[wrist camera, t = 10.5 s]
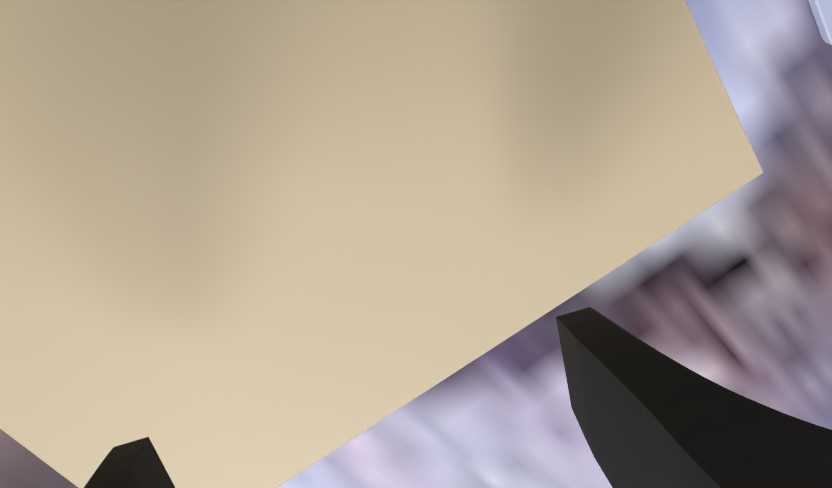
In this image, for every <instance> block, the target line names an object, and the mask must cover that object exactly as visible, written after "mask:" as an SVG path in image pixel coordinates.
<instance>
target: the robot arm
mask: <svg viewBox="0 0 832 488" xmlns="http://www.w3.org/2000/svg"><path fill="white" fill-rule="evenodd" d="M808 1H809V4H810V7H811V9H812V12H813V15H814V17H815V20H816V23H817V26H818V28H819V31H820V34H821V37H822V38H823V40H824V41H825V42H826V43H828V44H830V45H832V0H808ZM556 320H557V325H558V331H559V337H560V343H561V348H562V354H563V360H564V366H565V372H566V377H567V383H568V389H569V395H570V401H571V406H572V409H573V411H574V414H575V416H576V418H577V420H578V423H579V425H580V427H581V429H582V432H583V434H584V436H585V438H586V440H587V442H588V445H589V447H590V449H591V451H592V453H593V455H594V457H595V459H596V461H597V462H598V464H599V466H600V467H601V469H602V471H603V472H604V474H605V476H606V477H607V479H608V481H609V482H610V484H611V485H612V487H613V488H832V430H830V429H827V428H824V427H821V426H818V425H815V424H812V423H809V422H806V421H803V420H800V419H797V418H795V417H792V416H789V415H787V414H784V413H781V412H779V411H777V410H774V409H772V408H769V407H767V406H765V405H762V404H760V403H757V402H755V401H753V400H750V399H748V398H745V397H743V396H741V395H739V394H737V393H735V392H732V391H730V390H728V389H726V388H724V387H722V386H720V385H718V384H716V383H714V382H712V381H710V380H708V379H706V378H704V377H702V376H701V375H699V374H697V373H695V372H693V371H692V370H690V369H688V368H686V367H684V366H683V365H681V364H679V363H678V362H676V361H674V360H673V359H671V358H669V357H667V356H666V355H664V354H662V353H661V352H659V351H657V350H656V349H654V348H652V347H651V346H649V345H648V344H646V343H644V342H643V341H641V340H640V339H638V338H637V337H635V336H634V335H632V334H630V333H629V332H627V331H626V330H624V329H623V328H621V327H620V326H618V325H617V324H615V323H614V322H612V321H611V320H609V319H608V318H606V317H605V316H603V315H602V314H600V313H599V312H597V311H596V310H594V309H592V308H590V307H589V308H585V309H582V310H578V311H575V312H572V313H568V314H565V315H561V316H558V317H556ZM84 488H175V486H174V484H173V482H172V480H171V478H170V477H169V475H168V473H167V471H166V469H165V467H164V465H163V463H162V461H161V459H160V458H159V456H158V454H157V452H156V450H155V448H154V446H153V444H152V442H151V441H150V439H149V437H146V438H142V439H139V440H136V441H132V442H129V443H125V444H122V445H119V446H115V447H113V448H112V449H111V451H110V452H109V453H108V455H107V456H106V457H105V459H104V460H103V461H102V463H101V464H100V465H99V467H98V468H97V470H96V471H95V472H94V474H93V475H92V477H91V478H90V479H89V481H88V482H87V484H86V485H85V487H84Z"/></svg>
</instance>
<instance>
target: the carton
mask: <svg viewBox="0 0 832 488" xmlns="http://www.w3.org/2000/svg"><path fill="white" fill-rule="evenodd" d="M762 173H763V171H762V169H761V167H760V164H759V162H758V160H757V158H756V156H755V153H754V151H753V149H752V147H751V145H750V142H749V140H748V138H747V136H746V134H745V131H744V129H743V127H742V125H741V122H740V120H739V118H738V116H737V114H736V111H735V109H734V107H733V105H732V103H731V100H730V98H729V96H728V94H727V92H726V89H725V87H724V85H723V83H722V80H721V78H720V76H719V74H718V72H717V69H716V67H715V65H714V63H713V61H712V58H711V56H710V54H709V52H708V50H707V47H706V45H705V43H704V41H703V38H702V36H701V34H700V32H699V30H698V27H697V25H696V23H695V21H694V19H693V16H692V14H691V12H690V10H689V8H688V5H687V3H686V1H685V0H0V429H1V430H3V431H4V432H5V433H7V434H8V435H9V436H11V437H12V438H13V439H15V440H16V441H17V442H19V443H20V444H21V445H22V446H24V447H25V448H26V449H28V450H29V451H30V452H32V453H33V454H34V455H36V456H37V457H38V458H40V459H41V460H42V461H44V462H45V463H46V464H48V465H49V466H50V467H52V468H53V469H54V470H56V471H57V472H58V473H60V474H61V475H62V476H64V477H65V478H66V479H67V480H69V481H70V482H71V483H73V484H74V485H75V486H77V487H78V488H84V487H85V485H86V484H87V482H88V481H89V479H90V478H91V477H92V475H93V474H94V472H95V471H96V470H97V468H98V467H99V465H100V464H101V463H102V461H103V460H104V459H105V457H106V456H107V455H108V453H109V452H110V451H111V449H112V448H113V447H115V446H119V445H122V444H125V443H129V442H132V441H136V440H139V439H142V438H146V437H149V439H150V441H151V442H152V444H153V446H154V448H155V450H156V452H157V454H158V456H159V458H160V459H161V461H162V463H163V465H164V467H165V469H166V471H167V473H168V475H169V477H170V478H171V480H172V482H173V484H174V486H175V488H277V487H279V486H280V485H282V484H283V483H285V482H286V481H288V480H289V479H291V478H293V477H294V476H296V475H297V474H299V473H300V472H302V471H303V470H305V469H306V468H308V467H310V466H311V465H313V464H314V463H316V462H317V461H319V460H320V459H322V458H323V457H325V456H327V455H328V454H330V453H331V452H333V451H334V450H336V449H337V448H339V447H340V446H342V445H344V444H345V443H347V442H348V441H350V440H351V439H353V438H354V437H356V436H357V435H359V434H361V433H362V432H364V431H365V430H367V429H368V428H370V427H371V426H373V425H374V424H376V423H378V422H379V421H381V420H382V419H384V418H385V417H387V416H388V415H390V414H391V413H393V412H395V411H396V410H398V409H399V408H401V407H402V406H404V405H405V404H407V403H408V402H410V401H411V400H413V399H415V398H416V397H418V396H419V395H421V394H422V393H424V392H425V391H427V390H428V389H430V388H432V387H433V386H435V385H436V384H438V383H439V382H441V381H442V380H444V379H445V378H447V377H449V376H450V375H452V374H453V373H455V372H456V371H458V370H459V369H461V368H462V367H464V366H466V365H467V364H469V363H470V362H472V361H473V360H475V359H476V358H478V357H479V356H481V355H483V354H484V353H486V352H487V351H489V350H490V349H492V348H493V347H495V346H496V345H498V344H500V343H501V342H503V341H504V340H506V339H507V338H509V337H510V336H512V335H513V334H515V333H517V332H518V331H520V330H521V329H523V328H524V327H526V326H527V325H529V324H530V323H532V322H533V321H535V320H537V319H538V318H540V317H541V316H543V315H544V314H546V313H547V312H549V311H550V310H552V309H554V308H555V307H557V306H558V305H560V304H561V303H563V302H564V301H566V300H567V299H569V298H571V297H572V296H574V295H575V294H577V293H578V292H580V291H581V290H583V289H584V288H586V287H588V286H589V285H591V284H592V283H594V282H595V281H597V280H598V279H600V278H601V277H603V276H605V275H606V274H608V273H609V272H611V271H612V270H614V269H615V268H617V267H618V266H620V265H622V264H623V263H625V262H626V261H628V260H629V259H631V258H632V257H634V256H635V255H637V254H639V253H640V252H642V251H643V250H645V249H646V248H648V247H649V246H651V245H652V244H654V243H655V242H657V241H659V240H660V239H662V238H663V237H665V236H666V235H668V234H669V233H671V232H672V231H674V230H676V229H677V228H679V227H680V226H682V225H683V224H685V223H686V222H688V221H689V220H691V219H693V218H694V217H696V216H697V215H699V214H700V213H702V212H703V211H705V210H706V209H708V208H710V207H711V206H713V205H714V204H716V203H717V202H719V201H720V200H722V199H723V198H725V197H727V196H728V195H730V194H731V193H733V192H734V191H736V190H737V189H739V188H740V187H742V186H744V185H745V184H747V183H748V182H750V181H751V180H753V179H754V178H756V177H757V176H759V175H761V174H762Z"/></svg>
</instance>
